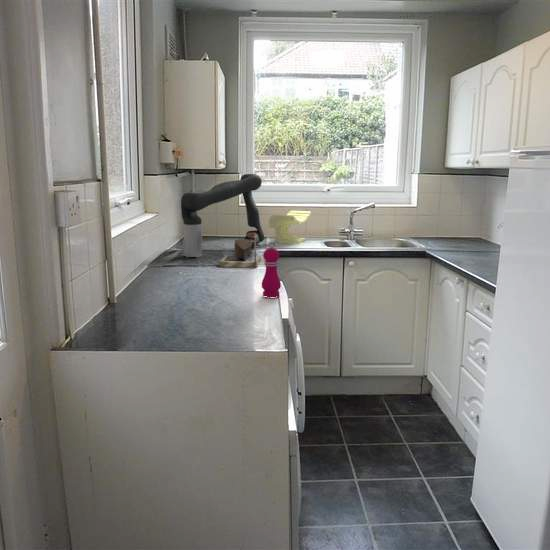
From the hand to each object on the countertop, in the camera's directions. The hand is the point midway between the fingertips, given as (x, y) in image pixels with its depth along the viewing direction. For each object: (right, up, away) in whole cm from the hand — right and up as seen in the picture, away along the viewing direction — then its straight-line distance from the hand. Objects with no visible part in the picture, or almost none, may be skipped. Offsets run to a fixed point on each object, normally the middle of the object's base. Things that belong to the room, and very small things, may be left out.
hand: (246, 245), depth 268 cm
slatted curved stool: (+24, +5, +54) cm, 59 cm away
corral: (-2, -9, -13) cm, 16 cm away
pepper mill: (+13, -23, -73) cm, 78 cm away
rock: (-2, -7, -3) cm, 8 cm away
